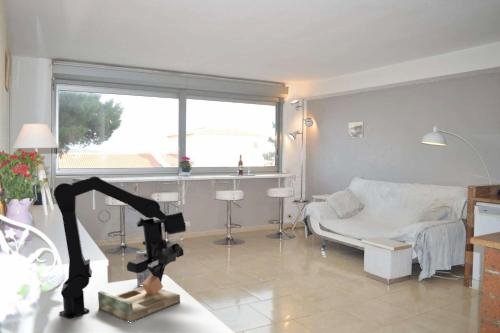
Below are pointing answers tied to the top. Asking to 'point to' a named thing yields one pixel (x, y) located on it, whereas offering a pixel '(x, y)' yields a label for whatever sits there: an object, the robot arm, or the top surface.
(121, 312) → the board
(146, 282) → the block
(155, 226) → the robot arm
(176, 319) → the top surface
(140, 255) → the energy drink
